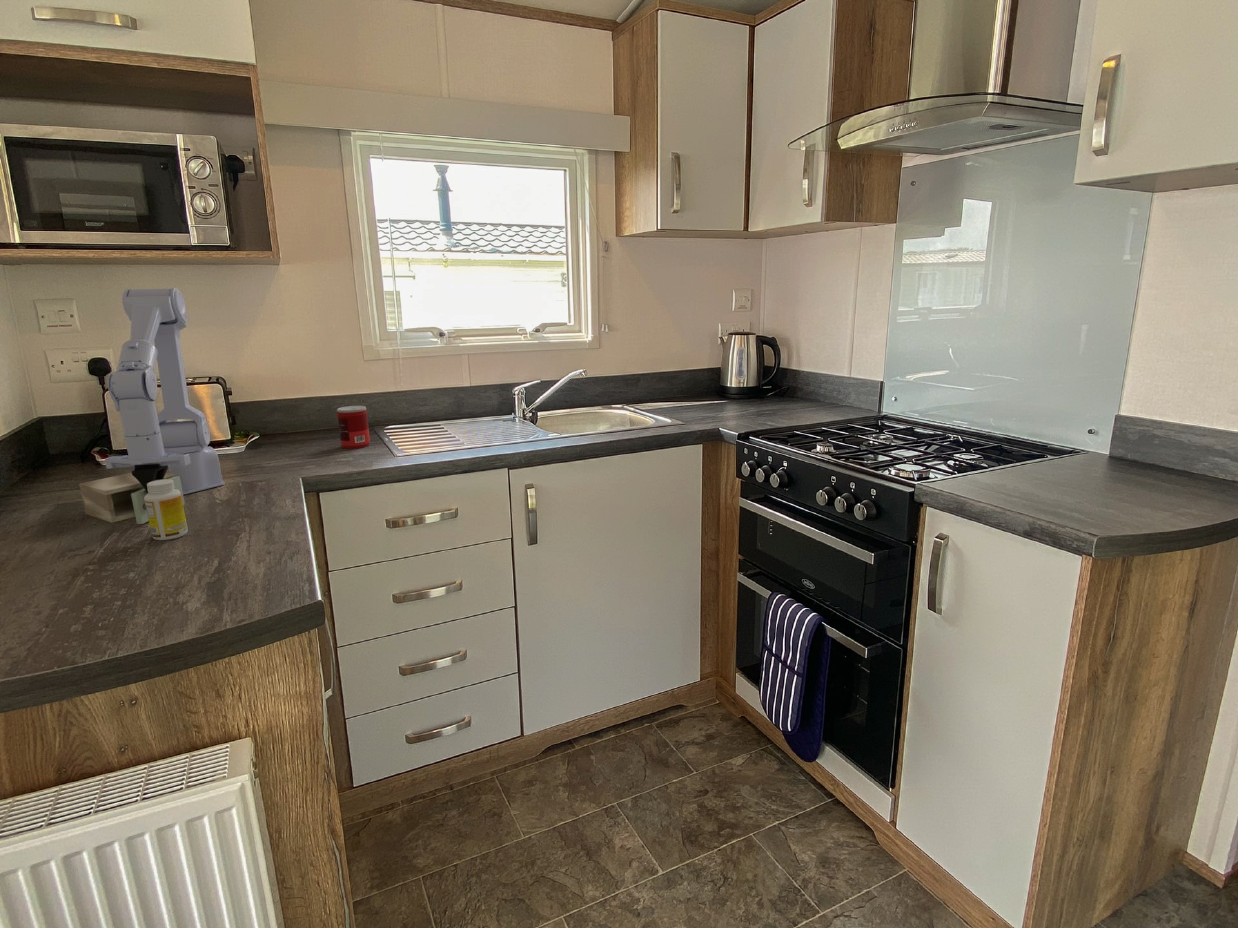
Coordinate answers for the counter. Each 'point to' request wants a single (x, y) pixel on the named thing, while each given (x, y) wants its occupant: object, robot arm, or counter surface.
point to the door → (140, 503)
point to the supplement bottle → (165, 510)
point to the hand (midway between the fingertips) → (156, 502)
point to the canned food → (353, 427)
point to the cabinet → (112, 496)
